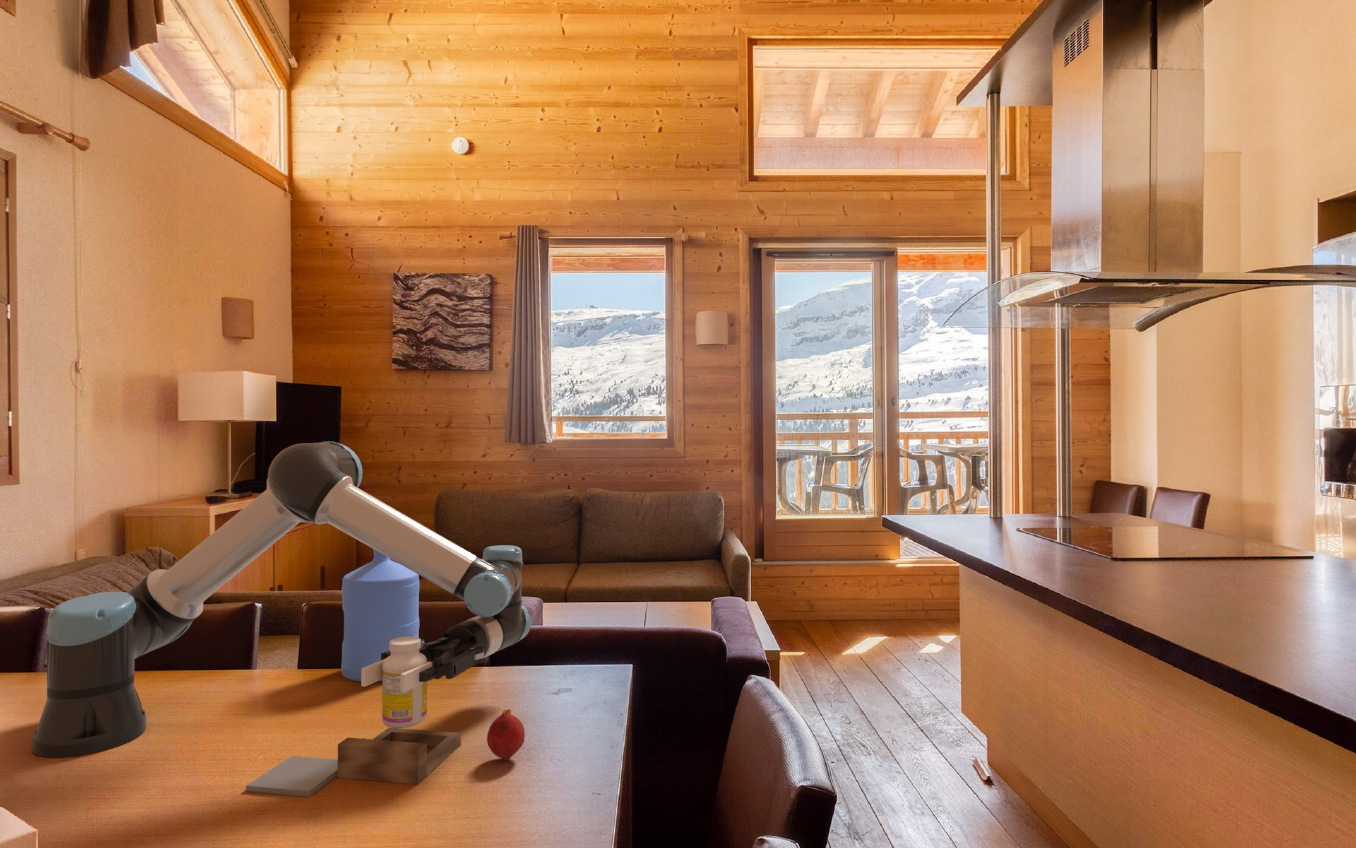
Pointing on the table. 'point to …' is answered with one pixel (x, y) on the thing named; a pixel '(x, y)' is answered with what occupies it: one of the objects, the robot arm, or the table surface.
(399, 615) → the water jug
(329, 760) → the slate coaster
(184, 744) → the table surface
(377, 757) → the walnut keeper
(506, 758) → the onion
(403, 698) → the supplement bottle
